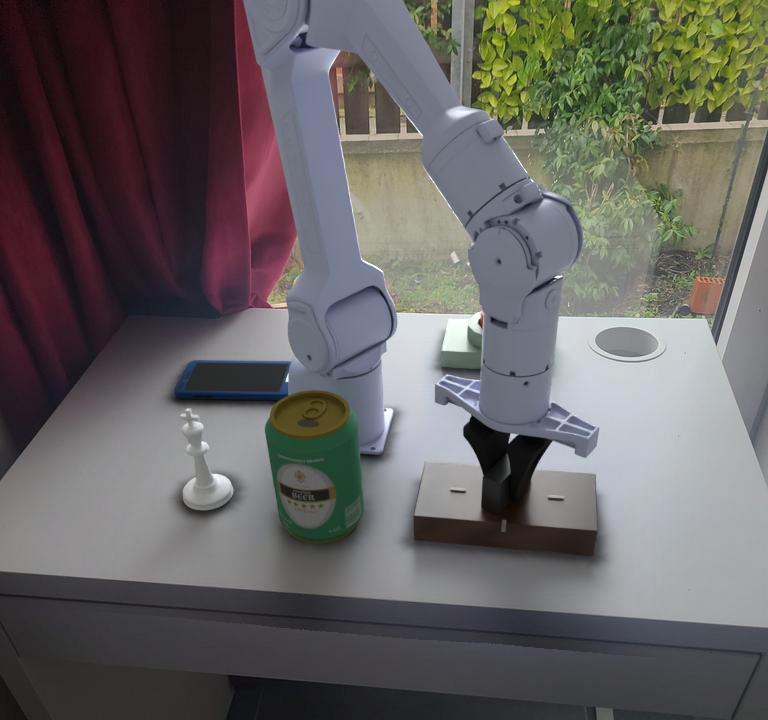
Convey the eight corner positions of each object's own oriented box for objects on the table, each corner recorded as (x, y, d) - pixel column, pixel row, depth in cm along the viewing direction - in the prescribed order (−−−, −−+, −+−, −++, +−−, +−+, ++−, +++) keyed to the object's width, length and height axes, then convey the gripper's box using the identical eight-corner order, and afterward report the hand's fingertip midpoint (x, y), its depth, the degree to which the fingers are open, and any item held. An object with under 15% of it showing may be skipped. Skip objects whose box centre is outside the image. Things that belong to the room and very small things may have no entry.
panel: (411, 548, 73) (411, 522, 71) (426, 478, 81) (426, 452, 79) (593, 565, 71) (598, 538, 69) (591, 490, 78) (595, 464, 76)
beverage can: (268, 540, 75) (248, 434, 67) (295, 486, 81) (280, 382, 73) (351, 552, 73) (342, 445, 65) (373, 496, 79) (367, 391, 71)
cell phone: (292, 400, 92) (291, 395, 91) (172, 398, 93) (171, 393, 93) (303, 366, 97) (302, 360, 97) (190, 365, 99) (188, 359, 98)
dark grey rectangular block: (498, 515, 72) (500, 481, 69) (480, 508, 72) (482, 474, 70) (531, 479, 75) (535, 446, 73) (514, 473, 76) (517, 439, 73)
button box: (440, 367, 96) (441, 337, 94) (448, 333, 102) (448, 304, 100) (543, 372, 94) (546, 342, 92) (545, 338, 100) (548, 308, 98)
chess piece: (223, 513, 78) (203, 427, 71) (175, 507, 79) (151, 423, 72) (240, 481, 82) (223, 396, 75) (194, 476, 82) (173, 392, 76)
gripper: (624, 361, 63) (601, 495, 72) (466, 314, 70) (463, 441, 79) (583, 404, 59) (563, 540, 68) (420, 349, 66) (421, 479, 75)
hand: (507, 489), depth 73 cm, fingers closed on dark grey rectangular block, 2 cm apart
